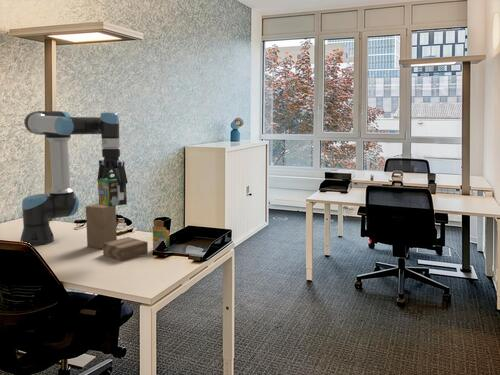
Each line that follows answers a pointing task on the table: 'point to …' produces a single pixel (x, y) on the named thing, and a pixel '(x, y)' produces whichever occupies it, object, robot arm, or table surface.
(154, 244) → the crayon box
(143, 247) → the walnut block
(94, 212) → the wooden block
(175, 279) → the table surface
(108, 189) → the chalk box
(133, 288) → the table surface
